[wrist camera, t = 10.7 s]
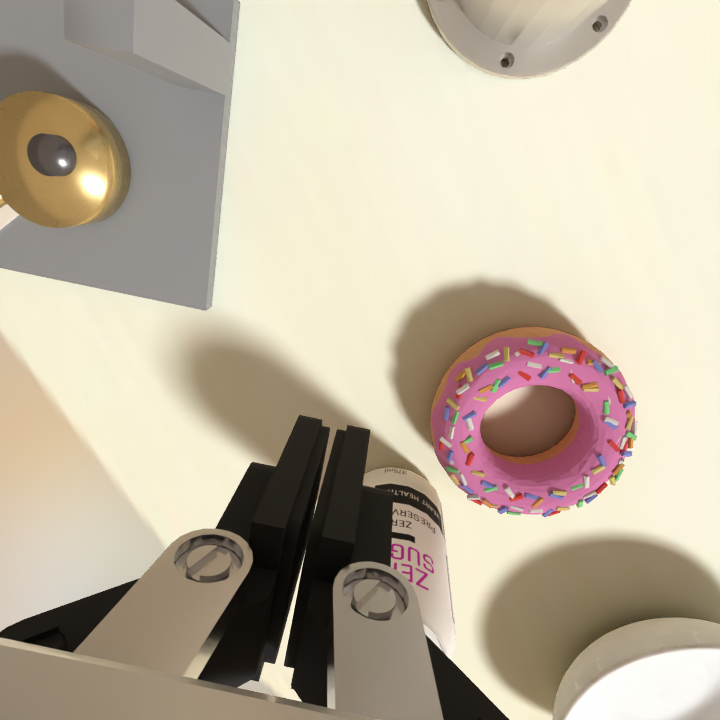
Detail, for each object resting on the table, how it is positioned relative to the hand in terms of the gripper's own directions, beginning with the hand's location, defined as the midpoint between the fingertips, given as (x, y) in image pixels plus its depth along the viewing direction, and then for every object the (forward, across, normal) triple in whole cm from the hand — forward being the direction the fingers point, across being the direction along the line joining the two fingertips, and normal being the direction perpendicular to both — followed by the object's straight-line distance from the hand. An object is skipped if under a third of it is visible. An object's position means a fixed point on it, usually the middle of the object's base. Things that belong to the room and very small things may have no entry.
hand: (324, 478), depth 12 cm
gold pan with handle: (+26, +25, -1) cm, 36 cm away
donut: (+28, -13, +8) cm, 31 cm away
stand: (+27, +20, -5) cm, 34 cm away
